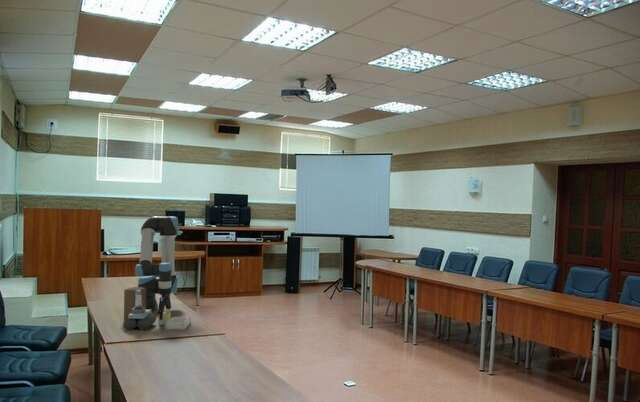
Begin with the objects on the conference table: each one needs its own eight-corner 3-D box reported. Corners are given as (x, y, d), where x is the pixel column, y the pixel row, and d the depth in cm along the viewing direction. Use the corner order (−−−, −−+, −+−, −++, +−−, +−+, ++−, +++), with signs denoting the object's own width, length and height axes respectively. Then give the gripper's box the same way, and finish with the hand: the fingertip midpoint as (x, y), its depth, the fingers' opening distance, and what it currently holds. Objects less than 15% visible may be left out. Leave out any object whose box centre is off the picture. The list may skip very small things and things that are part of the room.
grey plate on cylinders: (131, 323, 292) (131, 305, 292) (156, 324, 292) (156, 305, 292) (122, 330, 278) (123, 310, 278) (148, 330, 278) (149, 310, 278)
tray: (171, 323, 295) (171, 316, 295) (190, 323, 295) (190, 317, 295) (164, 329, 280) (164, 323, 280) (184, 330, 280) (184, 323, 280)
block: (137, 322, 296) (138, 290, 296) (123, 321, 298) (123, 289, 298) (146, 318, 305) (146, 287, 305) (132, 317, 307) (132, 286, 307)
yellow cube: (160, 321, 300) (160, 311, 300) (170, 321, 300) (170, 311, 300) (158, 323, 295) (158, 313, 295) (168, 323, 295) (168, 313, 295)
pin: (136, 311, 287) (136, 289, 286) (142, 311, 287) (142, 290, 287) (134, 312, 283) (134, 291, 283) (140, 312, 283) (140, 291, 283)
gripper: (164, 283, 309) (164, 316, 309) (152, 291, 285) (152, 327, 285) (176, 284, 309) (175, 316, 310) (165, 291, 285) (164, 327, 285)
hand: (164, 321), depth 297 cm, fingers open, 12 cm apart
